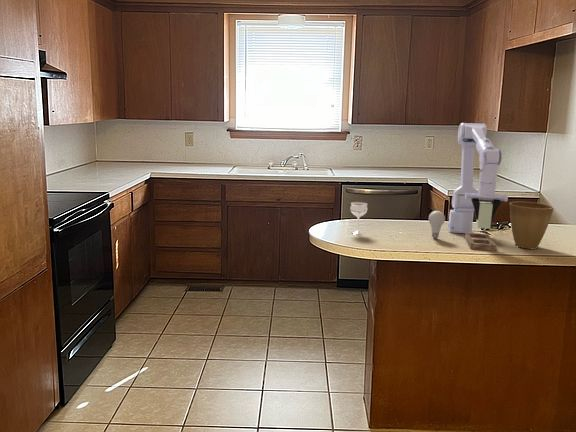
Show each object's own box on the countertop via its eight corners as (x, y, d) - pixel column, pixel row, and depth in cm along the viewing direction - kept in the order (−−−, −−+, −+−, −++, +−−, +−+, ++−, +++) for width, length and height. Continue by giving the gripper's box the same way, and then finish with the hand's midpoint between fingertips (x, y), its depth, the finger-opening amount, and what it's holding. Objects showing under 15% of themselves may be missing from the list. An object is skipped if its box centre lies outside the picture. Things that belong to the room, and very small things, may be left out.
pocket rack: (470, 248, 201) (470, 243, 201) (464, 237, 218) (465, 232, 217) (495, 250, 200) (495, 245, 199) (487, 239, 216) (488, 234, 216)
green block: (477, 227, 201) (480, 203, 199) (475, 225, 206) (478, 201, 204) (490, 228, 200) (492, 204, 199) (488, 226, 205) (490, 202, 203)
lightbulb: (432, 235, 219) (434, 208, 217) (446, 238, 215) (448, 211, 213) (423, 238, 215) (426, 210, 213) (437, 241, 211) (440, 213, 208)
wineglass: (358, 235, 216) (359, 205, 213) (345, 232, 221) (346, 202, 218) (369, 233, 220) (371, 203, 218) (356, 230, 225) (358, 201, 223)
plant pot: (553, 253, 198) (559, 209, 195) (510, 250, 201) (515, 207, 197) (541, 243, 213) (546, 202, 210) (501, 240, 215) (505, 200, 212)
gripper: (468, 183, 197) (464, 220, 200) (511, 185, 194) (506, 223, 197) (465, 180, 204) (462, 216, 207) (507, 182, 201) (503, 219, 204)
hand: (483, 219), depth 202 cm, fingers closed on green block, 4 cm apart
